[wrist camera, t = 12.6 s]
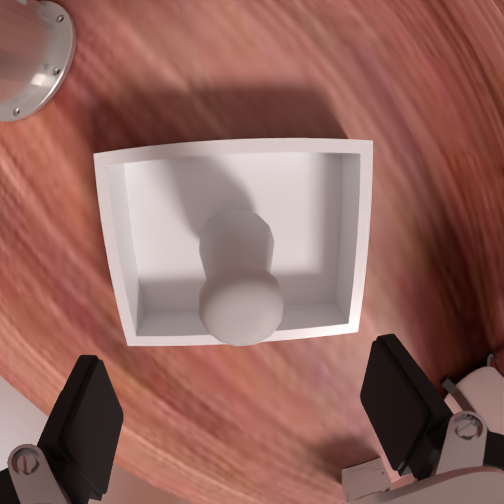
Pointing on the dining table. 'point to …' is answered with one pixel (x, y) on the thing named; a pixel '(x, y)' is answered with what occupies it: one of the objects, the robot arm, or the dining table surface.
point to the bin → (232, 197)
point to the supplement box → (365, 480)
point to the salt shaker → (239, 279)
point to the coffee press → (479, 395)
